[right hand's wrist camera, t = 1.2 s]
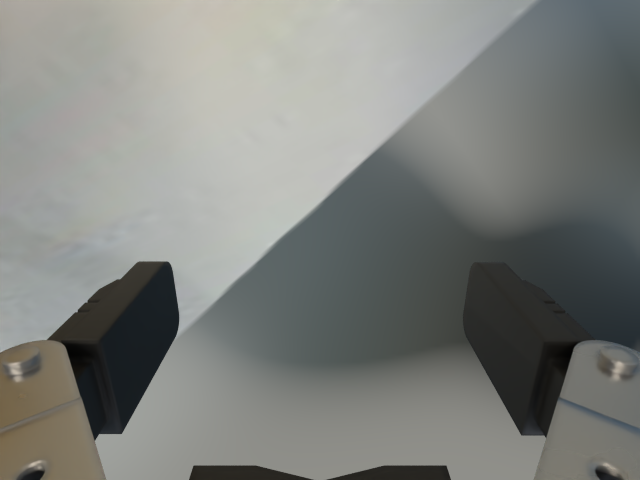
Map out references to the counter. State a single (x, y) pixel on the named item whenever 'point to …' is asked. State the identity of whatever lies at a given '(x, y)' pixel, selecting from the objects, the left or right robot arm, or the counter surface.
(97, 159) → the counter surface
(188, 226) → the counter surface
